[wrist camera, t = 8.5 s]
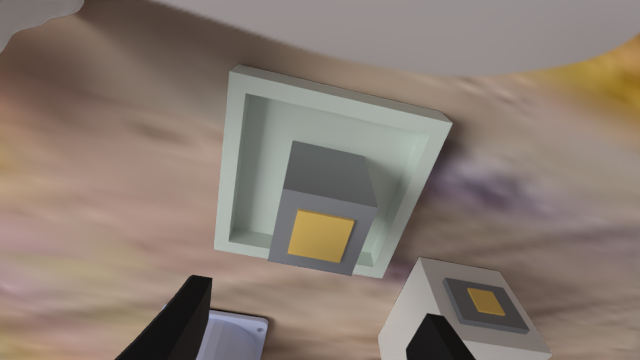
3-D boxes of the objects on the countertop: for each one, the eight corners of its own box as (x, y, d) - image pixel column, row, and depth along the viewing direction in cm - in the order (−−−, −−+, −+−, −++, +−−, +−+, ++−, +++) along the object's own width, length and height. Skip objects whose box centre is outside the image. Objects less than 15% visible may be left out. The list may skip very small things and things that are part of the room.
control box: (451, 348, 27) (483, 432, 22) (377, 337, 26) (391, 421, 21) (509, 267, 22) (567, 349, 17) (422, 250, 22) (454, 331, 16)
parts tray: (380, 259, 22) (384, 278, 20) (221, 230, 21) (213, 249, 19) (444, 112, 17) (456, 124, 15) (238, 63, 16) (229, 71, 14)
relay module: (347, 214, 19) (354, 278, 15) (279, 200, 19) (266, 263, 15) (366, 156, 18) (382, 210, 13) (292, 140, 17) (282, 190, 13)
